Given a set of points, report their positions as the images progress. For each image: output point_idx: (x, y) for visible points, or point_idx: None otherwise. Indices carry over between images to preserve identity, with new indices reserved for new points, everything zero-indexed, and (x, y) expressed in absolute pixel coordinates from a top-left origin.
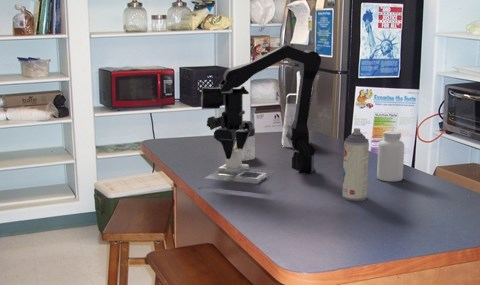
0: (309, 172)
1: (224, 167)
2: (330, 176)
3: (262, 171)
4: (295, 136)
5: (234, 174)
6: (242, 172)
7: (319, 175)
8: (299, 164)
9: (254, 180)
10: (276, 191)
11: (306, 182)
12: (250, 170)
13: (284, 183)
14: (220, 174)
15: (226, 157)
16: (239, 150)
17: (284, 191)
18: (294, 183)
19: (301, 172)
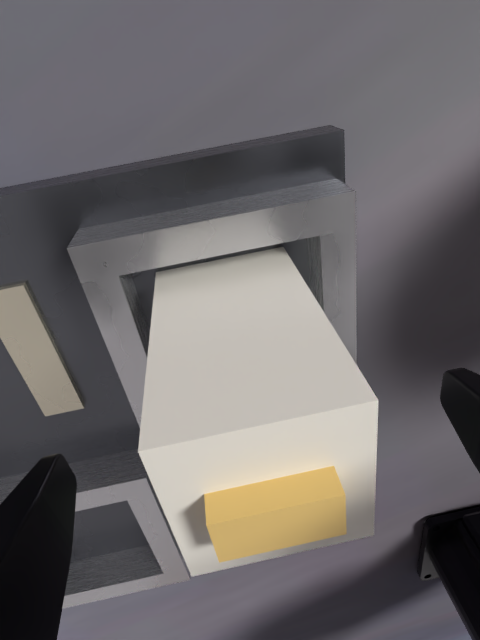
0: (422, 579)
1: (173, 258)
2: (411, 615)
3: None
4: None
5: (120, 388)
6: (93, 496)
7: (413, 593)
8: (454, 589)
9: None
10: (65, 619)
11: (279, 613)
12: None
13: (211, 581)
14: (4, 313)
15: (29, 473)
16: (284, 549)
17: (92, 631)
18: (237, 599)
19: (422, 554)
